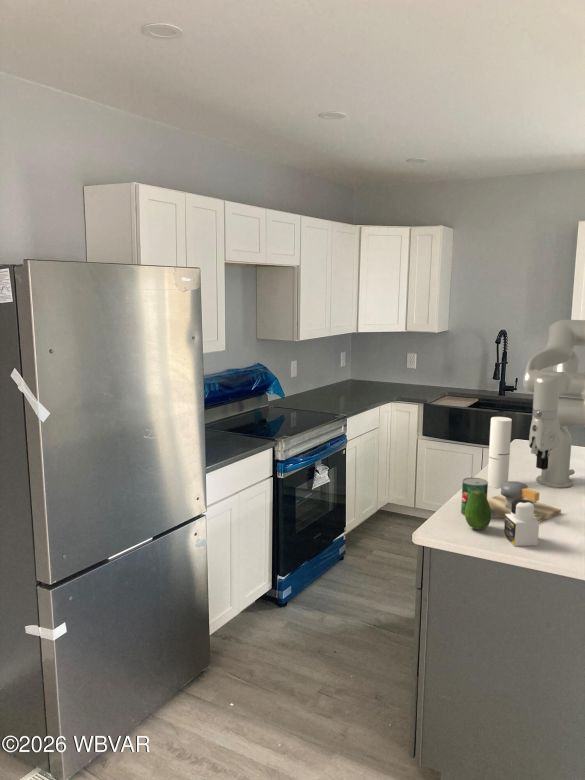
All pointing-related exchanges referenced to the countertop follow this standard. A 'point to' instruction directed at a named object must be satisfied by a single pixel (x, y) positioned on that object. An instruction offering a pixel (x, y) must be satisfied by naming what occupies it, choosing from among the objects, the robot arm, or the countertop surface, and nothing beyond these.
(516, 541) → the medicine bottle
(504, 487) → the grey paddle
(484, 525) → the avocado
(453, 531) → the countertop surface
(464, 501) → the canned tomato
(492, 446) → the cylindrical container
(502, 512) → the plate
